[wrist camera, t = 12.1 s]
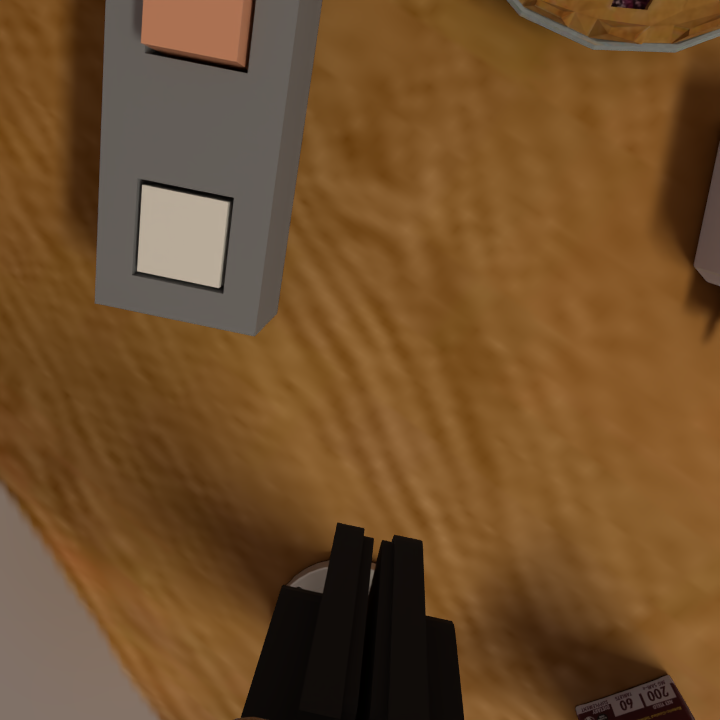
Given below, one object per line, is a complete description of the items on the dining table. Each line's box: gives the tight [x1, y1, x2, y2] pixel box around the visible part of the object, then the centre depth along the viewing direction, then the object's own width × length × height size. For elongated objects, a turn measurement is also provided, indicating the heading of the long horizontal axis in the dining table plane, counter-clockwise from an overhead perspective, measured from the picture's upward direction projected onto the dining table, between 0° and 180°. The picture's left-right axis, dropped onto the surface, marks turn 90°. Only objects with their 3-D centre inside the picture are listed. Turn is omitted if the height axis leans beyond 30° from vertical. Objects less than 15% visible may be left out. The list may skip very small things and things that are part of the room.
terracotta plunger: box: [141, 0, 256, 73], centre depth 30 cm, size 5×5×6 cm
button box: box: [95, 0, 322, 336], centre depth 33 cm, size 22×10×6 cm, turn 169°
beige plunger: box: [137, 184, 234, 288], centre depth 35 cm, size 5×5×6 cm
